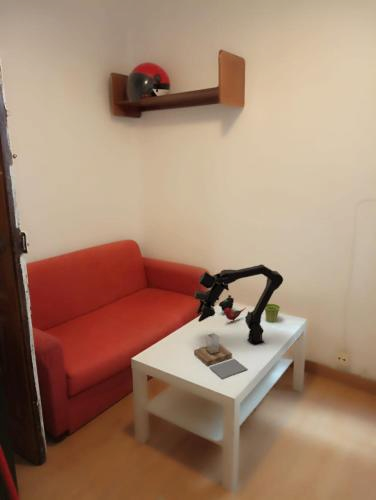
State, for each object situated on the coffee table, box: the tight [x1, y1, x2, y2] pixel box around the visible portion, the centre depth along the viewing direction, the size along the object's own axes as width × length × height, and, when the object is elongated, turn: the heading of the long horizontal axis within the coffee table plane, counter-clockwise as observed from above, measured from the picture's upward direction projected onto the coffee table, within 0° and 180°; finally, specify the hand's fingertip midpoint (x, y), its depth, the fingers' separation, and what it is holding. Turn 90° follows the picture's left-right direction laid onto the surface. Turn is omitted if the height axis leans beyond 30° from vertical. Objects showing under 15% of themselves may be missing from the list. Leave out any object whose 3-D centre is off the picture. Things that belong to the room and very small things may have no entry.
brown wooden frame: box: [193, 343, 233, 367], centre depth 178 cm, size 14×12×2 cm
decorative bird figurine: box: [223, 307, 247, 324], centre depth 214 cm, size 3×18×10 cm, turn 126°
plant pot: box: [264, 303, 281, 323], centre depth 214 cm, size 9×9×9 cm
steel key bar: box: [206, 332, 220, 355], centre depth 177 cm, size 4×4×11 cm
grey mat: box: [208, 358, 248, 380], centre depth 167 cm, size 14×10×1 cm
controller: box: [218, 294, 235, 313], centre depth 226 cm, size 4×12×10 cm, turn 140°
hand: (198, 317), depth 186 cm, fingers open, 9 cm apart
